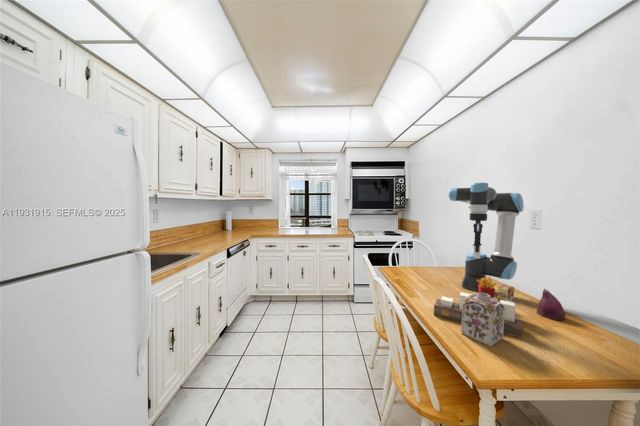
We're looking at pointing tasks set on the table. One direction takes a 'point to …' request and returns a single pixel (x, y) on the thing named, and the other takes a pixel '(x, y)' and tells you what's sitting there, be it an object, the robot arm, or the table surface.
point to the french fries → (486, 287)
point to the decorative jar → (483, 318)
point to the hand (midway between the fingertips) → (476, 257)
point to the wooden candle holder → (456, 315)
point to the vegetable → (550, 307)
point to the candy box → (506, 293)
